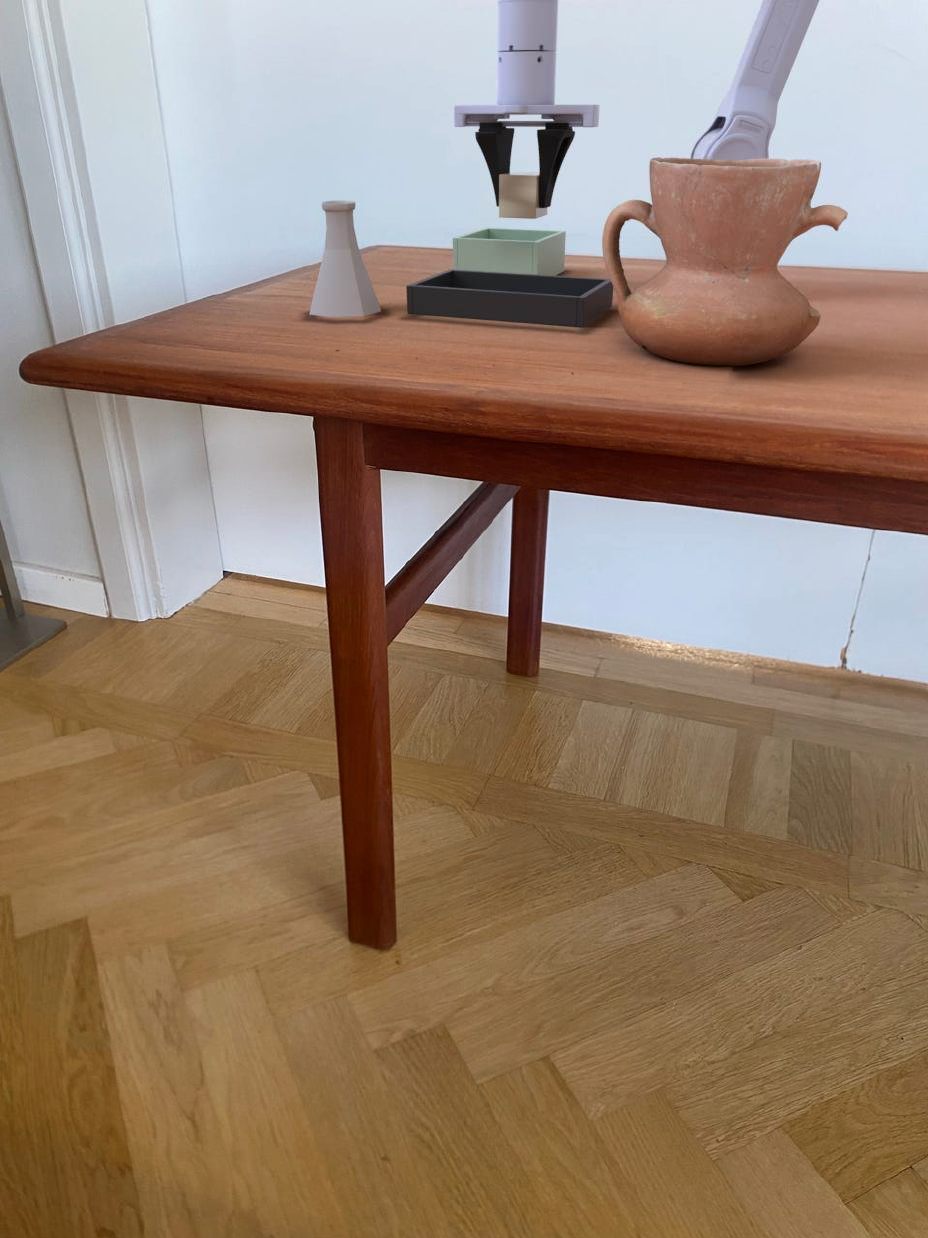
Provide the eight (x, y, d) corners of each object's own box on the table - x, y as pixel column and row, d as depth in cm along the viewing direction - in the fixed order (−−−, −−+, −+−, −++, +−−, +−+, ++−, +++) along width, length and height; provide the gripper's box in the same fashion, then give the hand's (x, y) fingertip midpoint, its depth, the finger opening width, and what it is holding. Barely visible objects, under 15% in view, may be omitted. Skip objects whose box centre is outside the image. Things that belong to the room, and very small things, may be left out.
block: (547, 214, 97) (548, 172, 95) (535, 218, 94) (536, 175, 92) (511, 213, 98) (512, 171, 97) (498, 217, 95) (499, 174, 93)
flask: (371, 323, 86) (365, 206, 81) (297, 320, 87) (286, 205, 82) (391, 308, 92) (387, 198, 87) (322, 306, 93) (314, 197, 88)
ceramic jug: (835, 347, 76) (870, 155, 70) (802, 390, 65) (840, 167, 58) (626, 327, 84) (640, 151, 77) (565, 362, 73) (574, 161, 66)
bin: (564, 271, 111) (565, 230, 109) (536, 285, 103) (538, 241, 101) (485, 266, 115) (485, 227, 113) (452, 279, 107) (452, 237, 104)
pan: (611, 311, 90) (614, 279, 89) (582, 332, 82) (584, 297, 81) (449, 299, 96) (449, 269, 95) (407, 318, 88) (406, 285, 86)
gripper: (441, 52, 88) (443, 207, 95) (588, 48, 84) (580, 212, 90) (468, 55, 94) (469, 201, 101) (608, 51, 89) (599, 205, 96)
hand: (523, 206), depth 96 cm, fingers closed on block, 4 cm apart
